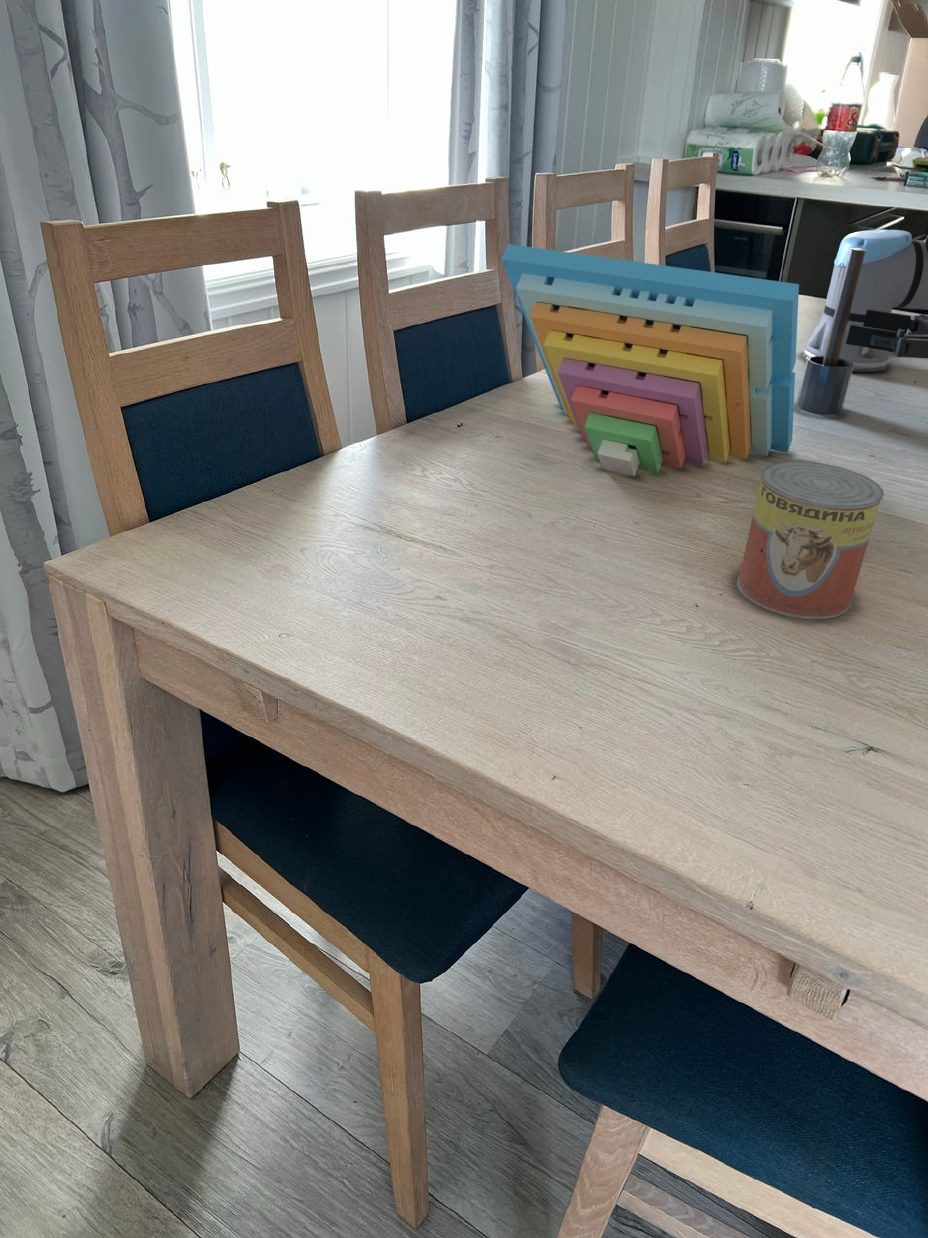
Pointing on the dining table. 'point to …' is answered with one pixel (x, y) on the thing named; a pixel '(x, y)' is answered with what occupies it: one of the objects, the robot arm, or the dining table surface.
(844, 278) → the stick
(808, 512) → the canned food
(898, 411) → the dining table surface
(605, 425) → the rainbow stepped pyramid
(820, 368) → the holder
